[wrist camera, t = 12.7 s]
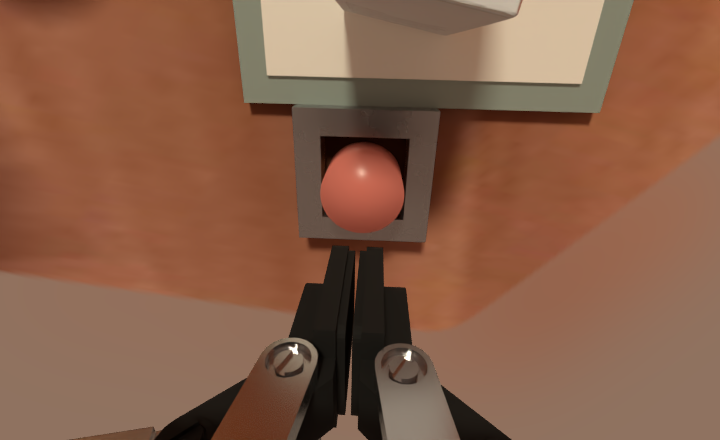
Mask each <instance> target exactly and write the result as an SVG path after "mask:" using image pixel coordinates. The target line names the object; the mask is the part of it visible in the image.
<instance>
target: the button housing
mask: <svg viewBox="0 0 720 440" xmlns="http://www.w3.org/2000/svg"><path fill="white" fill-rule="evenodd" d="M292 119H293V136H294V153H295V170H296V188H297V205H298V222H299V237H305V238H330V239H354V240H379V241H404V242H425V241H426V233H427V224H428V215H429V207H430V198H431V189H432V181H433V172H434V164H435V155H436V146H437V138H438V129H439V120H440V111H439V110H438V109H437V108H413V107H379V106H345V105H311V104H296V105H294V106H293V107H292ZM325 136H338V137H369V138H401V139H407V142H406V154H405V167H404V180H403V187H404V202H403V206H402V209H401V211H400V213H399V214H398V216H397V217H396V218H395V220H394V221H393V222H391V223H390V224H389V225H388V226H386V227H384V228H383V229H380V230H378V231H375V232H370V233H355V232H351V231H348V230H345V229H343V228H341V227H339V226H338V225H336V224H335V223H334V222H333V221H332V220H331V219H330V218H329V217H328V215H327V214H326V212H325V210H324V208H323V206H322V203H321V197H320V189H321V184H322V181H323V178H324V176H325V173H326V160H325Z"/></svg>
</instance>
